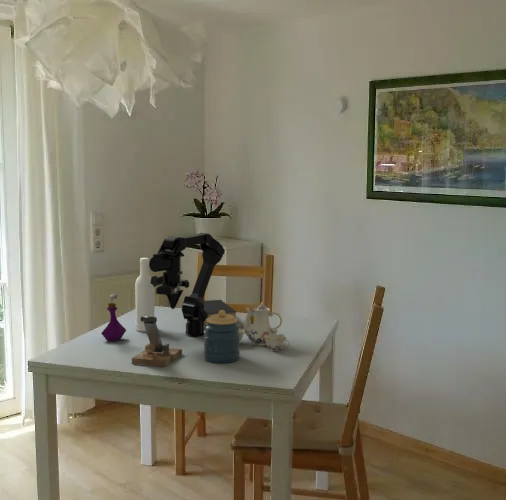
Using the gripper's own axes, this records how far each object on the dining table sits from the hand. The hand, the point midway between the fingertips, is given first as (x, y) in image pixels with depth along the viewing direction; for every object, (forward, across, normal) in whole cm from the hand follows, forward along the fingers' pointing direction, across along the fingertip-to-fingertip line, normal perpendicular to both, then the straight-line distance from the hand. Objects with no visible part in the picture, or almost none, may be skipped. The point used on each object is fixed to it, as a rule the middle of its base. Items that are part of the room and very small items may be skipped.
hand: (172, 308), depth 256 cm
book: (+13, -37, +1) cm, 40 cm away
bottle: (+13, -13, -18) cm, 26 cm away
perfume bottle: (+13, +5, -23) cm, 27 cm away
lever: (+11, +22, +4) cm, 24 cm away
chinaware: (+13, -8, +32) cm, 36 cm away
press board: (+13, +22, +4) cm, 26 cm away
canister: (+13, +14, +25) cm, 32 cm away
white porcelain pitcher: (+13, -27, +23) cm, 38 cm away
